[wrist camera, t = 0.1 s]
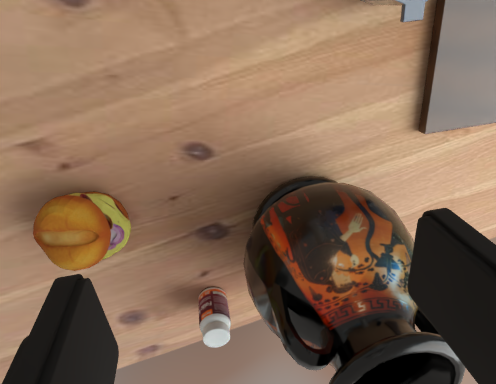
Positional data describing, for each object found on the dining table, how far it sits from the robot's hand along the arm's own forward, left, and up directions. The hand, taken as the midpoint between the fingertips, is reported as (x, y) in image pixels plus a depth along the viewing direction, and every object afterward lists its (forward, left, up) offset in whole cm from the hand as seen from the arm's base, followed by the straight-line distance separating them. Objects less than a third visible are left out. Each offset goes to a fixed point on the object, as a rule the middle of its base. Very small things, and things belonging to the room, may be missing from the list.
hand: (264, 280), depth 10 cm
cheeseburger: (+17, -18, -37) cm, 44 cm away
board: (+2, +37, -37) cm, 52 cm away
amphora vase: (+24, +12, -37) cm, 46 cm away
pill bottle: (+36, -4, -37) cm, 52 cm away
